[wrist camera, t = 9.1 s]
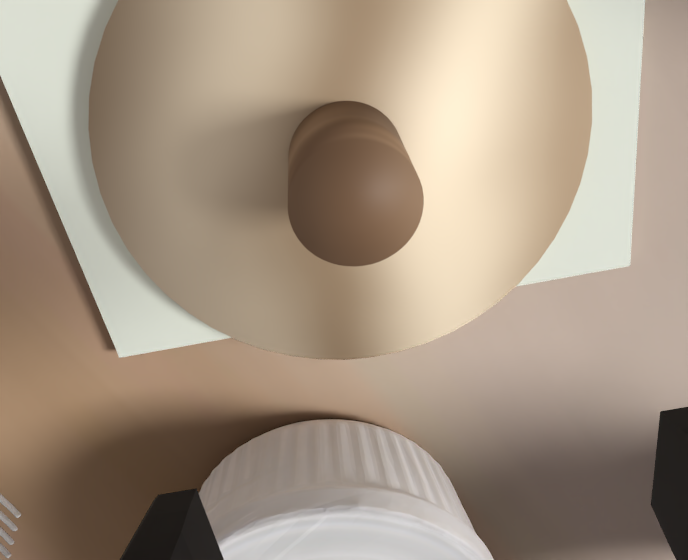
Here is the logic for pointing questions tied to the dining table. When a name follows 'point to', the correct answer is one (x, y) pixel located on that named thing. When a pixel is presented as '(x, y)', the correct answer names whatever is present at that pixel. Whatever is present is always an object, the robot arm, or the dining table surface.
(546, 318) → the dining table surface
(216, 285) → the lid
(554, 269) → the mat
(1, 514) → the fork
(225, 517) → the ramekin
